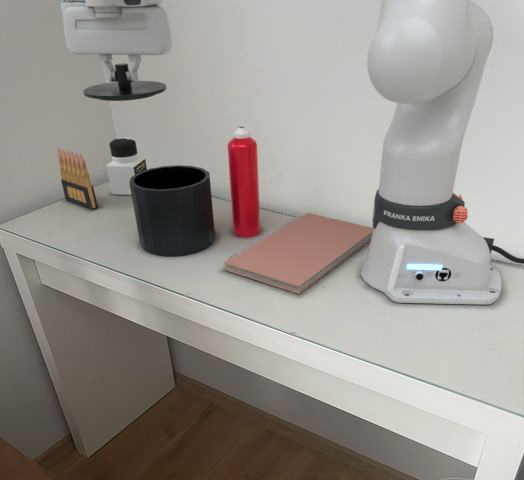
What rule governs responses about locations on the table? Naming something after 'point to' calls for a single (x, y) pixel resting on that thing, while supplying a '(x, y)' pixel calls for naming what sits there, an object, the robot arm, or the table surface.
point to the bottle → (244, 183)
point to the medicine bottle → (124, 165)
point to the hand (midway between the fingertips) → (124, 81)
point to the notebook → (299, 251)
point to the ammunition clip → (76, 180)
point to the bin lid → (124, 88)
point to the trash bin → (173, 210)
